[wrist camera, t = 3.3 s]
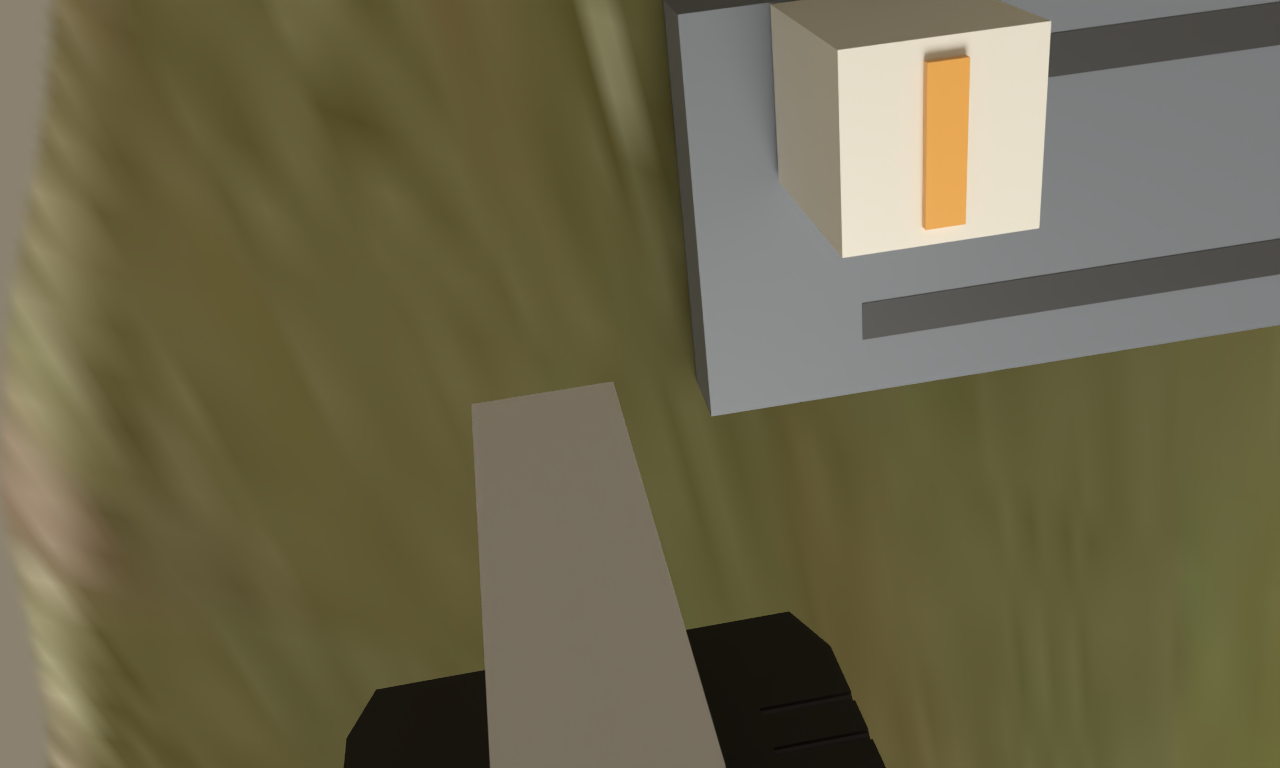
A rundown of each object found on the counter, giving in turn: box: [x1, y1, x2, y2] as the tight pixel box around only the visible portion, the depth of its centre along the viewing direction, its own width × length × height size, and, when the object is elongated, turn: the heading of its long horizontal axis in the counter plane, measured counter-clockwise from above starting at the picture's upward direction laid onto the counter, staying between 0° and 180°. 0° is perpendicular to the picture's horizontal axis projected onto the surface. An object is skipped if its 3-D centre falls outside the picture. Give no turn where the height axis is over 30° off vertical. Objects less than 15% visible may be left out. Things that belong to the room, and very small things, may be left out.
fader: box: [770, 0, 1051, 258], centre depth 24 cm, size 4×4×5 cm
